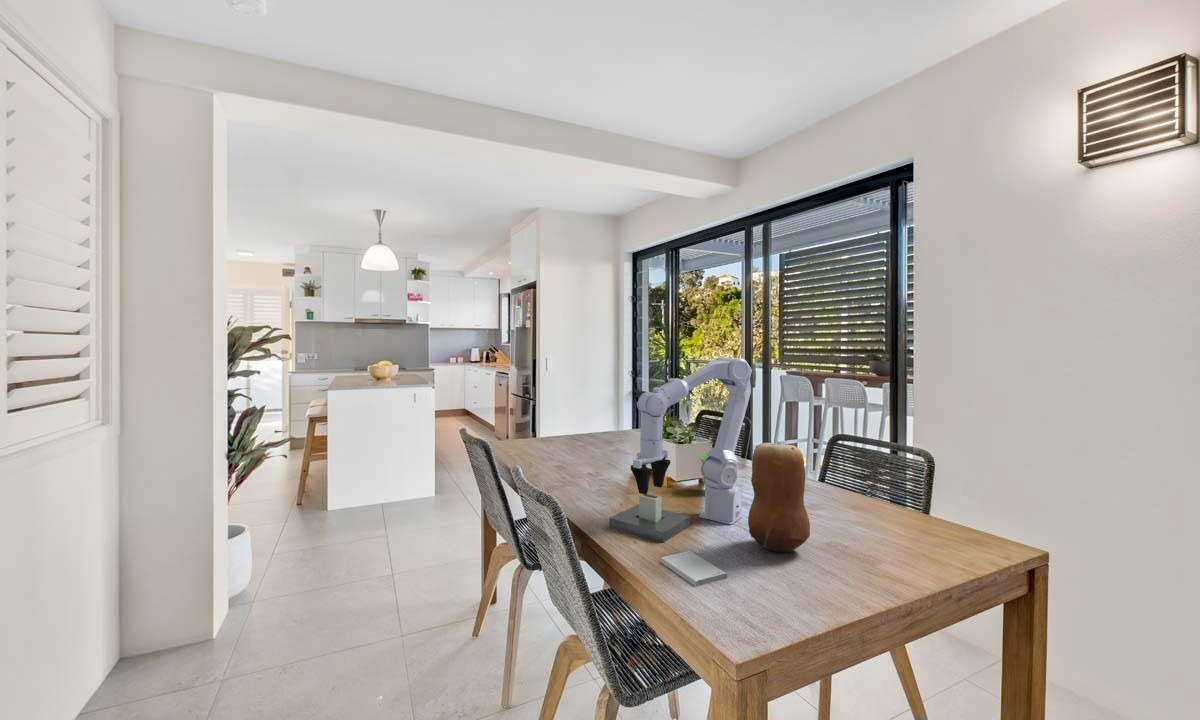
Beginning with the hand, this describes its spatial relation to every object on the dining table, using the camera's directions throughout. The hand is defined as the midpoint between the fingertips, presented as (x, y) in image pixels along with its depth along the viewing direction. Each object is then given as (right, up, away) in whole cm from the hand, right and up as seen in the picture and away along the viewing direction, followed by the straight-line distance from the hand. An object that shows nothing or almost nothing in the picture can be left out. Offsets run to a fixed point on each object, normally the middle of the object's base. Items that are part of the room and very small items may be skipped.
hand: (650, 490), depth 134 cm
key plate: (0, -9, -1) cm, 9 cm away
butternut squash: (+28, -11, -14) cm, 33 cm away
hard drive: (+7, -11, -25) cm, 28 cm away
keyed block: (0, -9, -1) cm, 9 cm away
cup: (+23, -9, +29) cm, 38 cm away
